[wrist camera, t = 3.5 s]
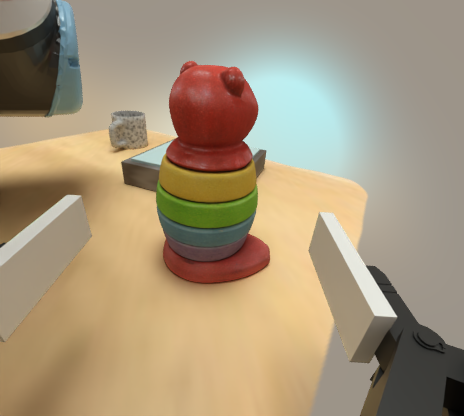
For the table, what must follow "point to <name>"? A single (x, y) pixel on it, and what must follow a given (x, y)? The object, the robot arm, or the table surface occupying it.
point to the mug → (128, 130)
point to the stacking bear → (210, 178)
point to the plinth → (148, 165)
